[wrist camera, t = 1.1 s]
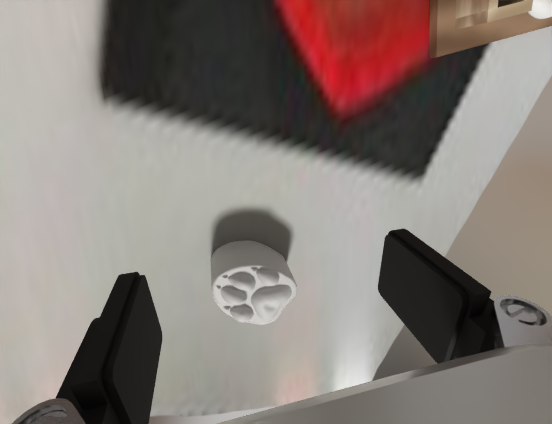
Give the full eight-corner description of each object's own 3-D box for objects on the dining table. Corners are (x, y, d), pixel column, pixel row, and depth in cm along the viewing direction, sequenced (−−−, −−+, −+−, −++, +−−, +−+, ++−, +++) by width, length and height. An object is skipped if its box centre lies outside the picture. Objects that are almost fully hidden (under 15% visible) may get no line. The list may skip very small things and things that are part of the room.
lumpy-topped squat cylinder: (261, 300, 53) (271, 337, 45) (197, 276, 47) (196, 313, 40) (292, 258, 50) (308, 289, 43) (229, 227, 45) (234, 256, 37)
